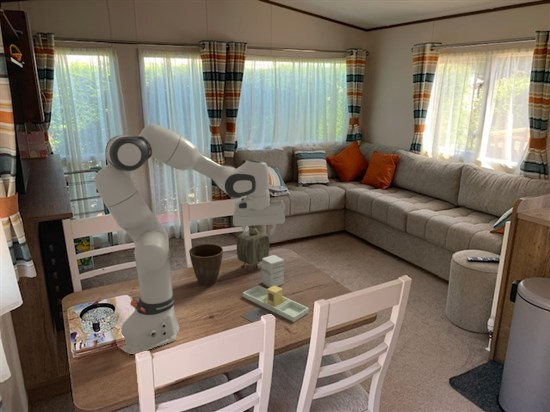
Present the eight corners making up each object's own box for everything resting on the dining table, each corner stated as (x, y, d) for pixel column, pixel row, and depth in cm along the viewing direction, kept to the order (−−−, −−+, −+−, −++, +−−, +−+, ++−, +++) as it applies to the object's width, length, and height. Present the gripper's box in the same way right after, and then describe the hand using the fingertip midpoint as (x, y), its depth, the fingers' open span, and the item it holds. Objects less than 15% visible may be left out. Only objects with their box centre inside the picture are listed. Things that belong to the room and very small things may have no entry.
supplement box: (261, 283, 185) (261, 258, 181) (274, 279, 189) (274, 254, 185) (270, 289, 179) (271, 263, 175) (284, 285, 183) (284, 259, 180)
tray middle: (275, 313, 160) (275, 308, 159) (258, 305, 166) (258, 300, 165) (290, 305, 167) (290, 299, 166) (273, 297, 173) (274, 292, 172)
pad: (257, 326, 152) (257, 325, 152) (241, 317, 158) (241, 316, 157) (273, 316, 158) (273, 315, 158) (257, 308, 164) (257, 307, 164)
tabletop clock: (258, 260, 209) (257, 214, 202) (270, 265, 203) (270, 218, 196) (237, 268, 199) (236, 220, 192) (249, 274, 193) (249, 225, 186)
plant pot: (230, 282, 186) (229, 250, 181) (204, 293, 175) (202, 259, 171) (210, 272, 195) (209, 241, 191) (184, 282, 185) (182, 250, 180)
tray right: (294, 323, 154) (294, 317, 153) (276, 314, 160) (276, 308, 159) (308, 313, 161) (308, 308, 160) (291, 305, 167) (291, 299, 166)
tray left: (258, 305, 166) (258, 300, 166) (242, 297, 172) (242, 292, 171) (273, 297, 173) (273, 291, 172) (258, 290, 179) (258, 284, 178)
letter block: (274, 308, 163) (274, 292, 161) (266, 304, 166) (266, 289, 164) (282, 304, 166) (282, 288, 164) (274, 300, 169) (274, 285, 167)
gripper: (284, 197, 158) (285, 230, 162) (231, 200, 157) (234, 233, 161) (286, 202, 152) (286, 236, 156) (231, 205, 151) (233, 239, 155)
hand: (259, 235), depth 159 cm, fingers open, 8 cm apart
